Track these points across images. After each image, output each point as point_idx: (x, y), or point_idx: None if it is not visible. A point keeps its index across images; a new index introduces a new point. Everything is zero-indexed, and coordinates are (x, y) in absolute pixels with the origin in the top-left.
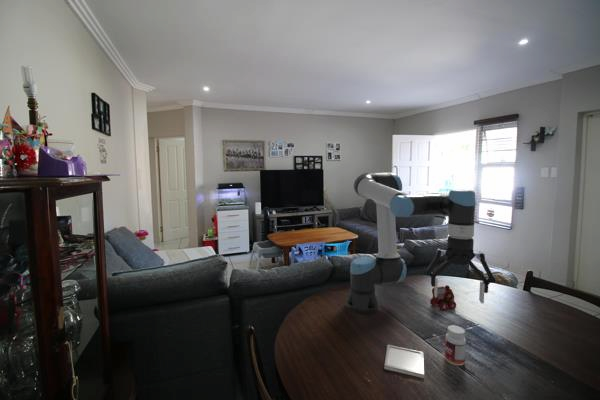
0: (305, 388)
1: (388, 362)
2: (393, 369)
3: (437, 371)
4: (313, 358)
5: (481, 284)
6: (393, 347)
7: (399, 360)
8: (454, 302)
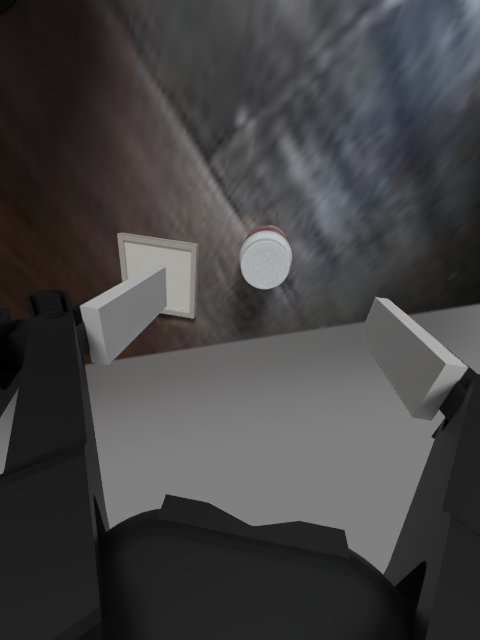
0: None
1: None
2: None
3: (222, 292)
4: (9, 300)
5: (413, 397)
6: (132, 240)
7: None
8: None
